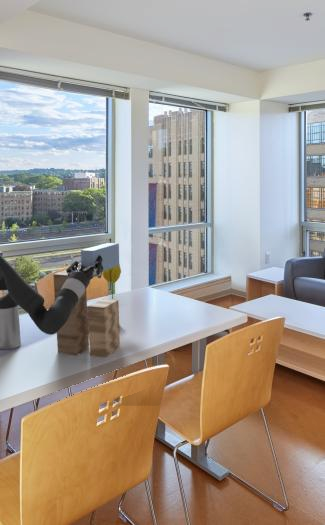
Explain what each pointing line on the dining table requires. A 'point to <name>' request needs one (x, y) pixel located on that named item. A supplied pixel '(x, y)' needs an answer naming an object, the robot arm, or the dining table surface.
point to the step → (104, 327)
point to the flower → (112, 275)
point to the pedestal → (72, 322)
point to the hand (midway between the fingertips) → (94, 256)
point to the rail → (107, 253)
